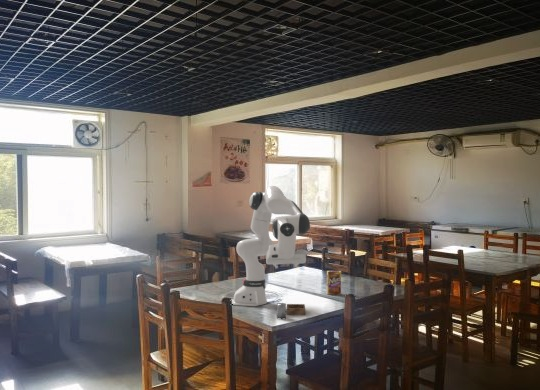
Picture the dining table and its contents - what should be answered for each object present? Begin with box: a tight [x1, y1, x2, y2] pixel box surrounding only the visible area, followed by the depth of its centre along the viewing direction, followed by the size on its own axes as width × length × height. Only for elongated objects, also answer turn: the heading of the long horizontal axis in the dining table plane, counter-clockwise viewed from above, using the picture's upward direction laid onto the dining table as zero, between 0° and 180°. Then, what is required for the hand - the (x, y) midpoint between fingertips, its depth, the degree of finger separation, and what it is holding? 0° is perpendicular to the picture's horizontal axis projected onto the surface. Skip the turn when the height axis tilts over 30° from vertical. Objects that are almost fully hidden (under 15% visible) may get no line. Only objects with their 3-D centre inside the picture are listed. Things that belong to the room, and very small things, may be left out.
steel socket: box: [276, 302, 287, 320], centre depth 251 cm, size 5×5×8 cm
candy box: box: [326, 270, 342, 295], centre depth 308 cm, size 9×4×15 cm, turn 93°
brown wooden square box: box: [286, 303, 306, 316], centre depth 262 cm, size 10×10×4 cm
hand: (285, 267), depth 241 cm, fingers open, 8 cm apart
